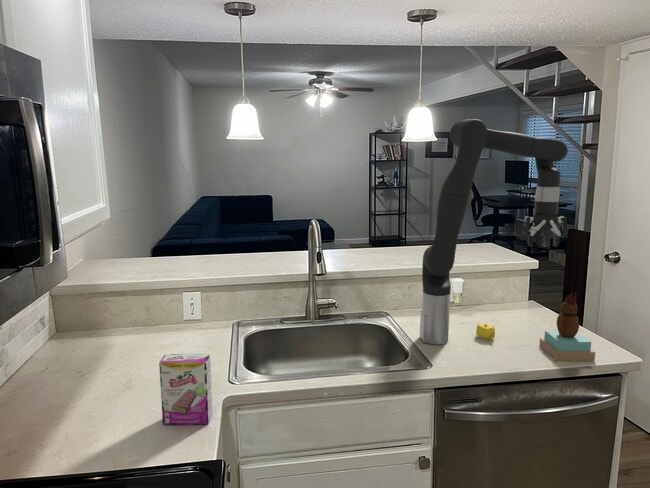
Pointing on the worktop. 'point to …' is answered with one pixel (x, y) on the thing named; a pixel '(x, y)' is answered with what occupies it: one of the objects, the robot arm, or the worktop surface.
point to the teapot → (485, 331)
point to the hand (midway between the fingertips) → (542, 246)
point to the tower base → (566, 353)
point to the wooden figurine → (568, 318)
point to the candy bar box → (186, 389)
